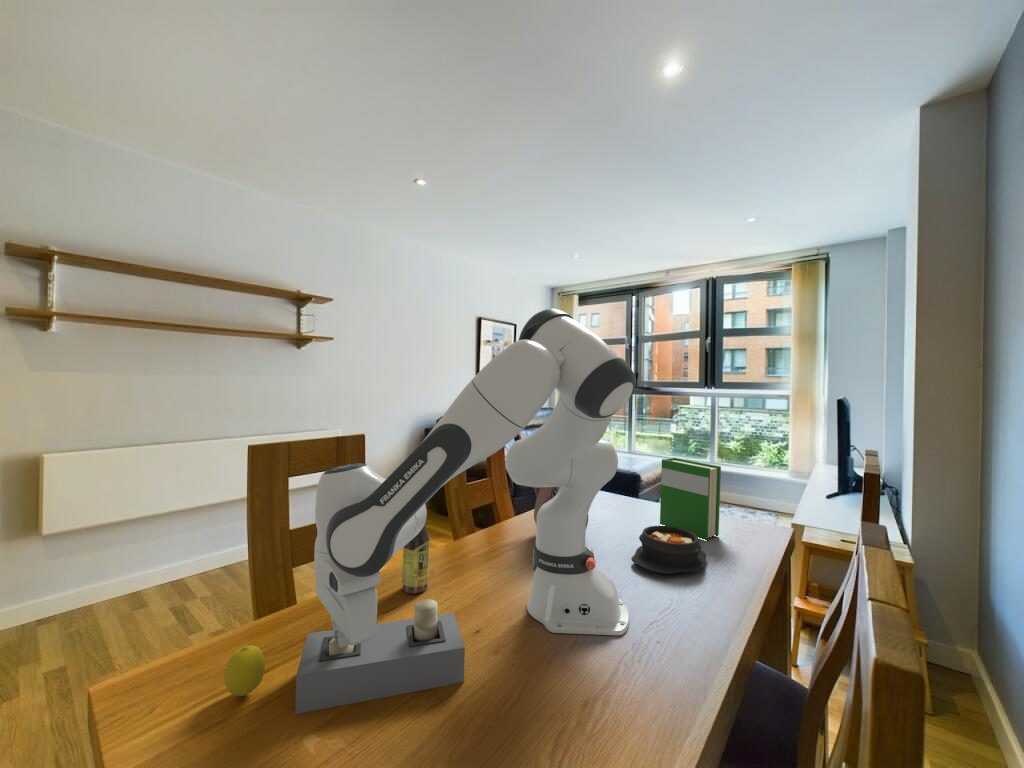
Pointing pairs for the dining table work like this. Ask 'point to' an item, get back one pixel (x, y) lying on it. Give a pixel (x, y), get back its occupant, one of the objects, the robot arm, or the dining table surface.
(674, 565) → the casserole
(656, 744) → the dining table surface
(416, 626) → the peg inner
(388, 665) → the peg block
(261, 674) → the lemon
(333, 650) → the peg outer
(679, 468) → the hardback book
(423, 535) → the sauce bottle
